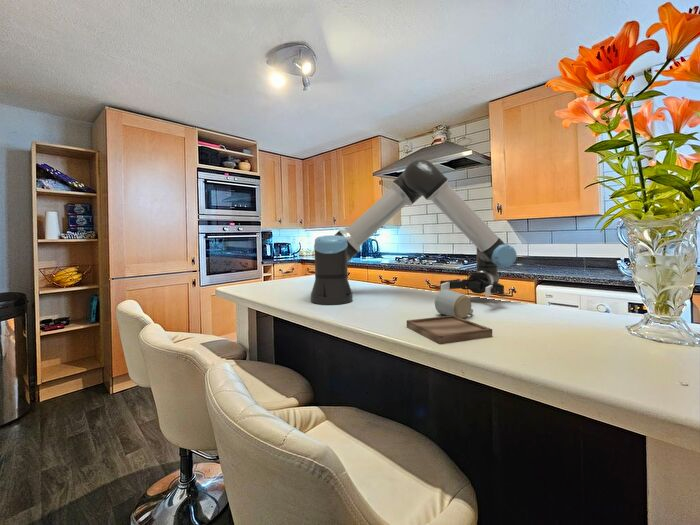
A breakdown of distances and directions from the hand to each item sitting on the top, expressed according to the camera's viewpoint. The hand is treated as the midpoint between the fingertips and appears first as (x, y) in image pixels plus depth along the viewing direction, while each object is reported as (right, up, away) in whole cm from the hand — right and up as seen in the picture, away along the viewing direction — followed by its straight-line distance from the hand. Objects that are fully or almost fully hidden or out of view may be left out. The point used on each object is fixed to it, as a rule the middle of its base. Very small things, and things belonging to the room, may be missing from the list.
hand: (463, 290), depth 99 cm
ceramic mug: (-5, -7, -7) cm, 11 cm away
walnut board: (-12, -8, -22) cm, 27 cm away
